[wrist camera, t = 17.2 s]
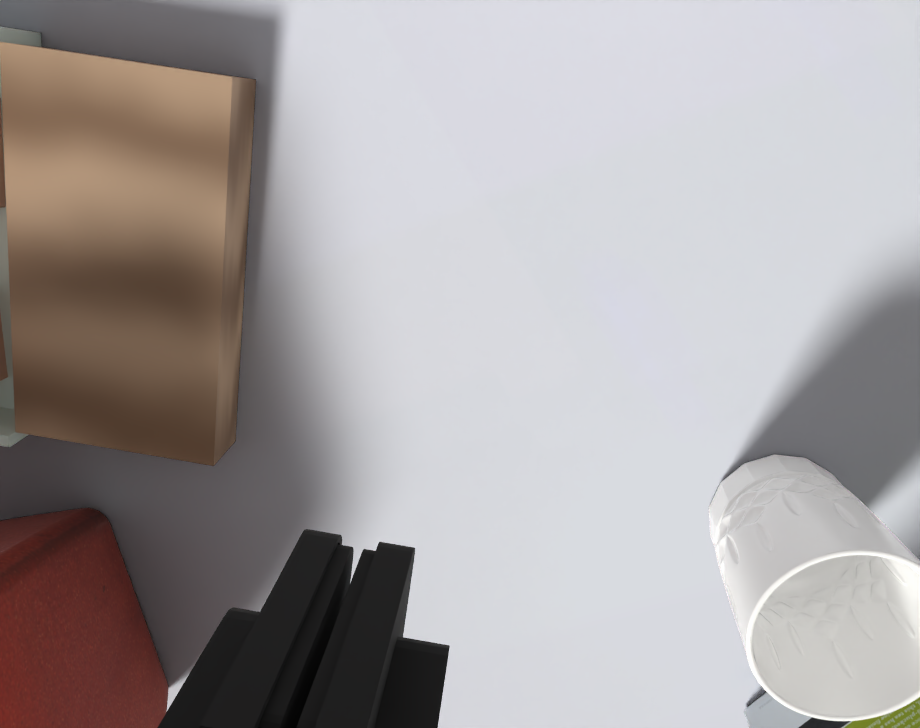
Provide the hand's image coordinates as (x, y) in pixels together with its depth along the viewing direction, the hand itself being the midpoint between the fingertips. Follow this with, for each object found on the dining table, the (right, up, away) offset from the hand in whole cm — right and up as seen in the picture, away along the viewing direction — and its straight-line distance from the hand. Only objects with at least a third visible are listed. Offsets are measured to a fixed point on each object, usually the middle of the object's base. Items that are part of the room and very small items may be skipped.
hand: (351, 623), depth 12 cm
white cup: (+18, -4, +29) cm, 34 cm away
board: (-14, +9, +27) cm, 32 cm away
